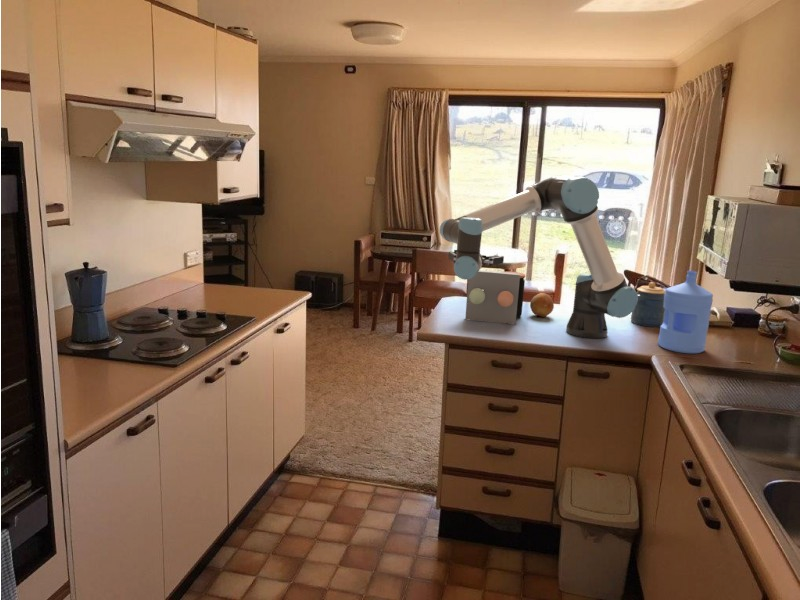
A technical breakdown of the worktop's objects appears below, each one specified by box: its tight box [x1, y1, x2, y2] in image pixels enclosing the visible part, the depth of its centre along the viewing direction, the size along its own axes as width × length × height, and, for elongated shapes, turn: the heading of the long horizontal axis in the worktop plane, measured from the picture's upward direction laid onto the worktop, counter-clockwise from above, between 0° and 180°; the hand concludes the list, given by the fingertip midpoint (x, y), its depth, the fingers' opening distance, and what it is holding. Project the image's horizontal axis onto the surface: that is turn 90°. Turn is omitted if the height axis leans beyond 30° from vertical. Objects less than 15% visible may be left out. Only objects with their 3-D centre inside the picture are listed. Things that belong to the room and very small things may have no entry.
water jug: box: [657, 270, 714, 354], centre depth 219 cm, size 16×16×28 cm
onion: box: [529, 292, 555, 318], centre depth 258 cm, size 10×10×10 cm
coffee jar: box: [504, 271, 526, 319], centre depth 256 cm, size 11×11×18 cm
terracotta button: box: [498, 291, 513, 307], centre depth 240 cm, size 8×6×6 cm
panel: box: [465, 270, 520, 325], centre depth 245 cm, size 3×20×20 cm, turn 77°
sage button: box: [469, 288, 485, 304], centre depth 243 cm, size 8×6×6 cm
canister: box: [630, 281, 666, 328], centre depth 254 cm, size 13×13×18 cm
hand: (478, 254), depth 228 cm, fingers open, 12 cm apart
